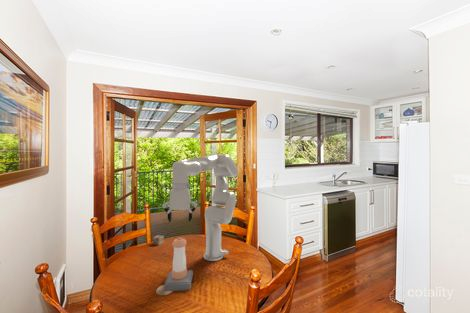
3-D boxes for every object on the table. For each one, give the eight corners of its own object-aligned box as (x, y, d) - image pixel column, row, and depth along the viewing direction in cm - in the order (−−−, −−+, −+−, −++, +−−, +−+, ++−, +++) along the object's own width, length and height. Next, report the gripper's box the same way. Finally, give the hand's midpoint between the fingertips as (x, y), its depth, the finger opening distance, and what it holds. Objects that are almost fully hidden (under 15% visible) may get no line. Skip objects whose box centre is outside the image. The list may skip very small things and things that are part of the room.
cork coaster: (175, 285, 107) (175, 284, 107) (171, 296, 99) (172, 294, 99) (158, 286, 107) (158, 284, 107) (154, 297, 99) (154, 295, 99)
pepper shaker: (180, 270, 114) (180, 233, 114) (189, 274, 110) (190, 237, 110) (168, 276, 108) (169, 238, 108) (178, 281, 104) (178, 241, 104)
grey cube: (153, 244, 155) (153, 237, 155) (158, 241, 159) (158, 235, 159) (159, 245, 153) (159, 238, 153) (163, 242, 158) (163, 235, 158)
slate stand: (192, 275, 115) (192, 269, 115) (190, 289, 103) (190, 283, 103) (169, 276, 114) (169, 270, 114) (164, 291, 102) (164, 284, 102)
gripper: (198, 185, 113) (198, 218, 113) (164, 185, 111) (163, 218, 111) (197, 187, 105) (197, 222, 105) (160, 187, 103) (160, 223, 103)
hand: (180, 220), depth 108 cm, fingers open, 9 cm apart
